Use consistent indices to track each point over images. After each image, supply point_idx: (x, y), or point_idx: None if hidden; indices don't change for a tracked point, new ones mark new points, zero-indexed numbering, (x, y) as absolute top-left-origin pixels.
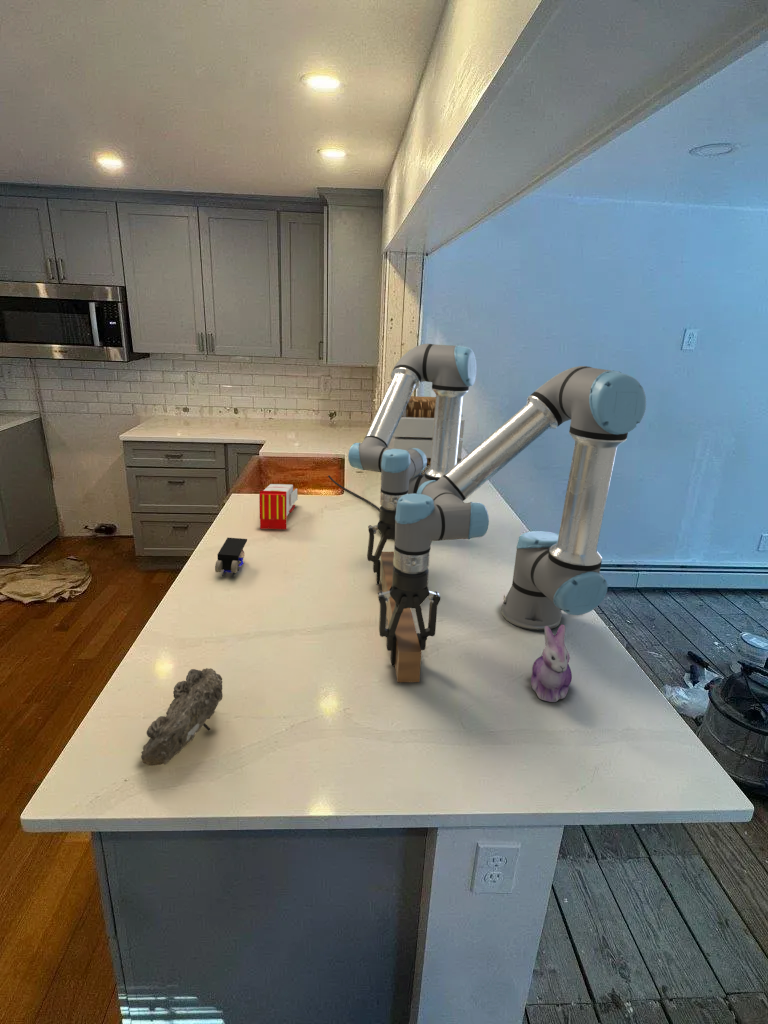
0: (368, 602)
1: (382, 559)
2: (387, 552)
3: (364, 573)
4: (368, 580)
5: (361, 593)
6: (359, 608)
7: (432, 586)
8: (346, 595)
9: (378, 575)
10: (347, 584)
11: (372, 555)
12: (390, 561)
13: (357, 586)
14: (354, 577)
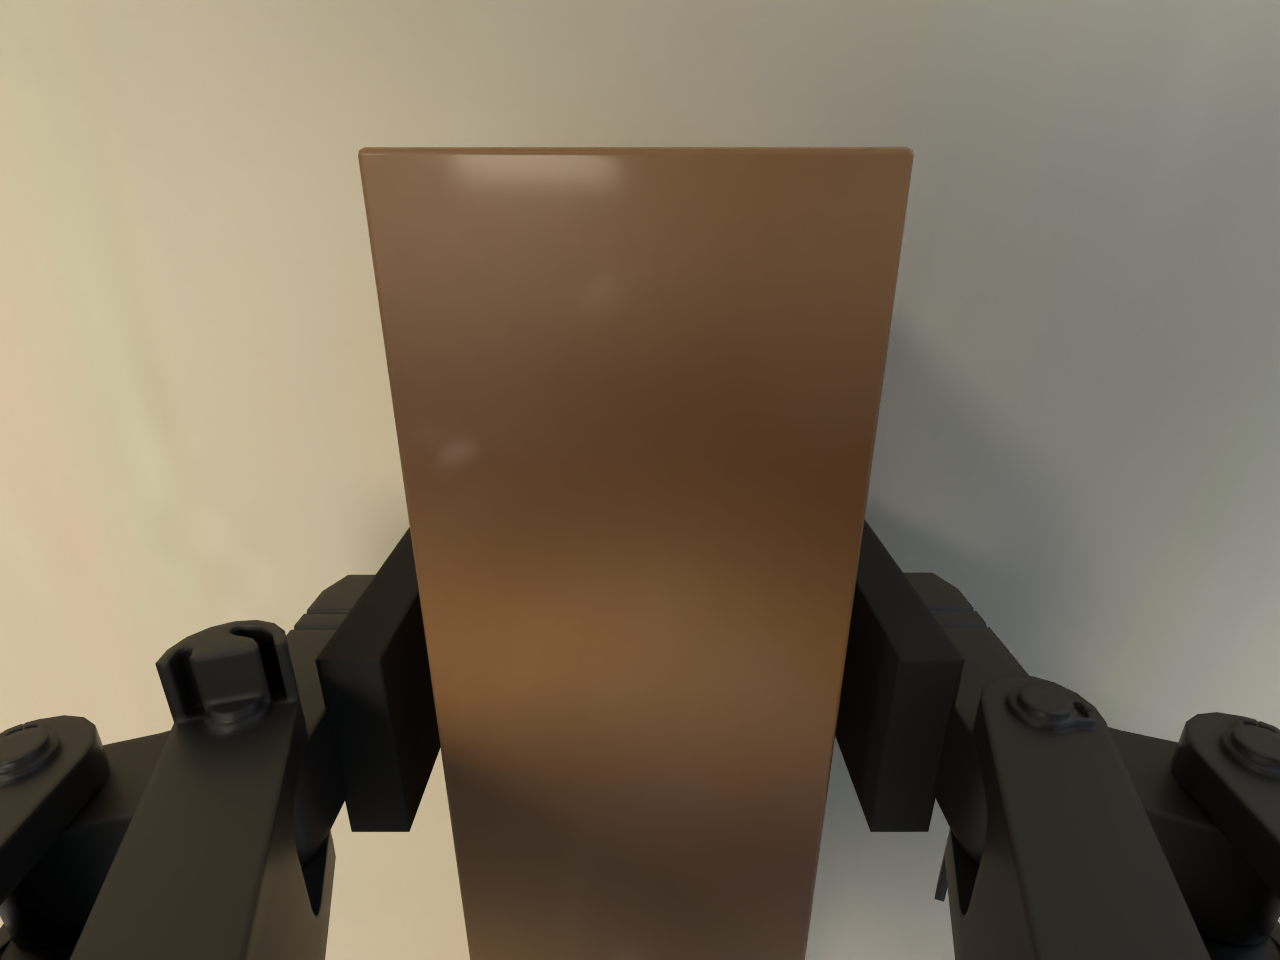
0: (401, 844)
1: (441, 690)
2: (590, 242)
3: (262, 137)
4: (353, 385)
5: None
6: (329, 923)
7: (1182, 545)
8: (153, 732)
9: None
10: (92, 497)
11: (105, 827)
12: (630, 783)
13: (232, 547)
14: (133, 289)
